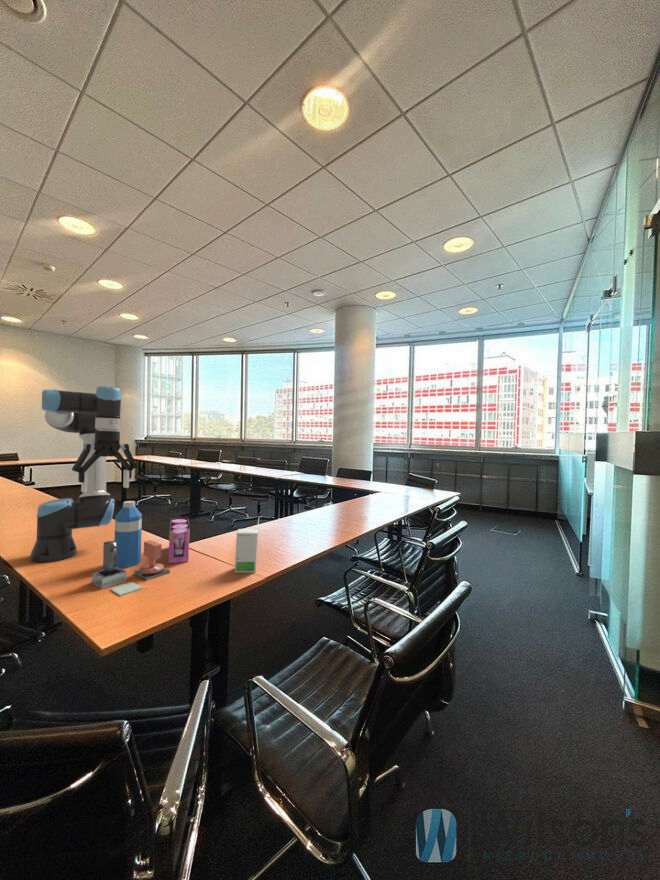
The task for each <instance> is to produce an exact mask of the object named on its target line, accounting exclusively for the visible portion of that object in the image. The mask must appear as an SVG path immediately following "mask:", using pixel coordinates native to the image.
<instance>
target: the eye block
mask: <svg viewBox="0 0 660 880" xmlns="http://www.w3.org/2000/svg"><path fill="white" fill-rule="evenodd" d="M127 572H128V571H126V570H124V569H123V568H119V567H117V566H116V573H115V574H112V575H108V576H105V577H104V576H103V569H102V570H97V571H93V572H91V583H92V584H93V585H95V586H97V587H98V588H99V589H101V590H104V589H106V588H109V587H113V586H116V585H119V584H120V585H121V584H122V583H126V582H127V579H128V578H127V577H128V576H127V574H128V573H127Z"/></svg>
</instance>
